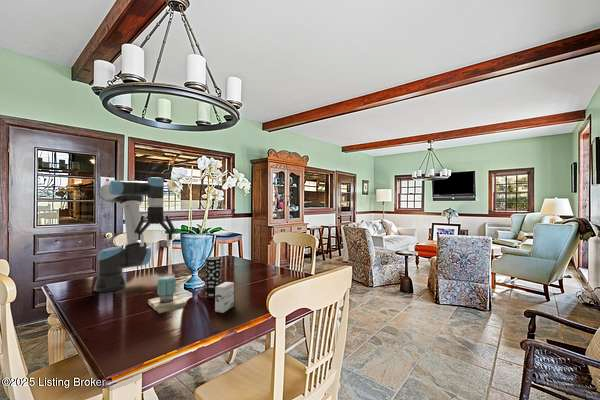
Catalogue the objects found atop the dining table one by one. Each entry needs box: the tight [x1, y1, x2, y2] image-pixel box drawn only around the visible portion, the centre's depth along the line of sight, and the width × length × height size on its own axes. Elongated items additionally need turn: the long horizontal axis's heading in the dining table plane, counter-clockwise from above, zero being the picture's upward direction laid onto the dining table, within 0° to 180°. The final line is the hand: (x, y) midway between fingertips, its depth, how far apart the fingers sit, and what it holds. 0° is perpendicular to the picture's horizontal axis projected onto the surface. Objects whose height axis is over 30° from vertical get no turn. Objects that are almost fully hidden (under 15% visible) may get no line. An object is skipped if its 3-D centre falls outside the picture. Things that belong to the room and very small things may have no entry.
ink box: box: [214, 281, 235, 314], centre depth 131 cm, size 9×5×12 cm, turn 158°
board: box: [147, 293, 186, 314], centre depth 135 cm, size 16×12×2 cm
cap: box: [157, 275, 177, 296], centre depth 135 cm, size 8×8×7 cm
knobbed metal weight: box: [159, 294, 173, 303], centre depth 135 cm, size 6×6×6 cm
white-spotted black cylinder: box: [204, 256, 222, 299], centre depth 149 cm, size 8×8×20 cm
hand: (155, 246), depth 147 cm, fingers open, 13 cm apart
